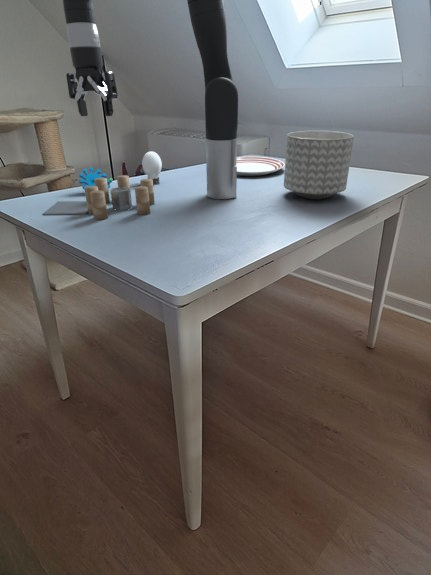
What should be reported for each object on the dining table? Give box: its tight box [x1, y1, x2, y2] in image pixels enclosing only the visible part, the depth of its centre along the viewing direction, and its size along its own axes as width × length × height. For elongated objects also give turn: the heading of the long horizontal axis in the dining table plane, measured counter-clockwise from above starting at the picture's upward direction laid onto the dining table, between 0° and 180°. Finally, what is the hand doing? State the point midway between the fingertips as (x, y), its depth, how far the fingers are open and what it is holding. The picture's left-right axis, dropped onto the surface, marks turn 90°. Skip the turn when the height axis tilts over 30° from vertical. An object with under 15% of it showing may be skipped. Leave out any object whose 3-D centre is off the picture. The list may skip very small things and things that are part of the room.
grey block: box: [110, 186, 133, 212], centre depth 113 cm, size 5×6×6 cm
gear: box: [78, 166, 114, 190], centre depth 130 cm, size 11×6×10 cm
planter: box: [283, 130, 355, 200], centre depth 119 cm, size 19×19×18 cm
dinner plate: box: [236, 156, 285, 177], centre depth 157 cm, size 27×27×3 cm
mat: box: [42, 200, 89, 216], centre depth 114 cm, size 12×12×1 cm
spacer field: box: [83, 174, 156, 221], centre depth 113 cm, size 18×22×7 cm
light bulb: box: [141, 150, 163, 186], centre depth 137 cm, size 7×7×11 cm
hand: (96, 116), depth 106 cm, fingers open, 8 cm apart
